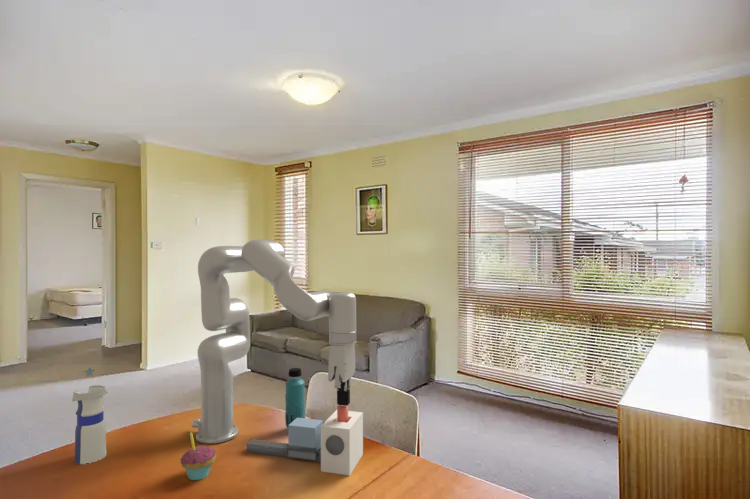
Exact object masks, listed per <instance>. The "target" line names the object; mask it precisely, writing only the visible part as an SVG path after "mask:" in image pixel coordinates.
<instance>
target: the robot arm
mask: <svg viewBox="0 0 750 499" xmlns="http://www.w3.org/2000/svg"><path fill="white" fill-rule="evenodd" d="M285 253H286V252H285V249H284V247H283V246H282V244H280V242H278V241H276V240H272V239H252V240H250V241H248V242H246V243H245V244H244V245H240V246H239V245H219V246H213V247H210V248H208V249H207V250H205V251H204V252H203V253H202V254H201V256H200V258H199V260H198V264H197V275H198V280H199V286H200V305H201V307H200V308H201V311H200V312H201V313H200V314H201V322H202V326H203V328H204V329H205V330H206V331H209V332H210V331H211V332H216V331H217V332H218V331H223V330H225V332H222V333H218V334H214V335H211V336H209V337H207V338H205V339H203V340H202V341H201V342H200V344H199V345H198V347H197V358H198V362H199V363H198V364H199V370H200V392H201V393H200V397H201V398H200V399H201V401H200V402H201V403H200V404H201V407H200V408H201V409H200V412H201V414H200V415H201V416H200V418H194V419H193V422H192V424H191V428H197V429H198V430H197V432H196V434H195V439H196V441H198V442H199V443H201V444H209V445H210V444H211V445H212V444H220V443H224V442H228V441H230V440H232V439H234V438H236V436H238V435H239V427H238V426H237V425H234V376H233V373H232V369H231V368H230V366H229V363H232V362H234V361H237V360H239V359H240V360H241V359H242V358H244V357H245V356H246V355H247V354H248V353H249V351H250V349H251V348H250V347H251V326H250V324H251V322H250V311H249V309H248V308H249V307H248V306H247V304H246V303H245V302H244V301H243V300H242V299H241V298H237V297H233V298H232V297H231V296H230V285H229V282H228V280H227V278H226V277H225V275H224V274H230V273H231V274H232V273H235V274H236V273H247V272H248V273H249V272H255V273H257V274H258V275H259V276H260V277H261V278H263V279H264V280H265V281H267V283H269V285H271V286H272V287H273V292H274V294H275V296H276V299H277V300H278V302H279V304H280V305H282V306H283V307H284V308H285V310H287V311H288V312H289V313H290V314H292V315H293V316H295V317H296V318H297V319H299V320H302V321H306V322H310V321H315V320H317V319H322V318H326V317H328V338H329V339H328V341H329V342H328V343H329V345H330V346H329V350H328V351H329V353H328V367H327V368H328V369H327V370H328V371H327V379H328V380H327V381H329V382H332V381H334V388H335V389H336V404H337V406H338V405H345V406H347V405H348V406H349V404H351V378H352V377H353V375H354V374H355V373H356V349H355V345H356V344H357V342H358V341H357V298H356V295H355V293H353V292H348V291H346V292H345V291H341V292H335V291H330V290H318V291H317V290H316V291H311V292H310V291H309V292H307V291H306V290H305V289H303V288H302V287H301V286H299V285H298V284H297V283H296V282H295V281H294V280H293V276H294V274H295V266H294V264H293V263H291V262H290V261H289V260H288V259H287V258H285ZM230 297H231V298H230Z"/></svg>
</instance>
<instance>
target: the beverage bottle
mask: <svg viewBox="0 0 750 499" xmlns="http://www.w3.org/2000/svg"><path fill="white" fill-rule="evenodd" d="M288 377H290V378H288V379H287V381H285V384H284V385H285V391H284V392H285V396H284V398H285V401H284V402H285V416H284V419H285V427H286V428H287V429H288V425H289V424H290V423H292V422H293V421H294V420H295V419H296V418H306V400H305V399H306V398H305V391H306V390H305V388H306V387H305V386H306V382H305V380H304V379H303V378H301V377H302V369H301V368H300V367H292V368H289V369H288Z"/></svg>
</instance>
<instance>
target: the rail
mask: <svg viewBox="0 0 750 499" xmlns="http://www.w3.org/2000/svg"><path fill="white" fill-rule="evenodd" d="M245 446H246V449H245V450H246V453H252V454H258V455H266V456H270V457H271V456H272V457H279V458H280V457H281V458H286V459H293V460H300V461H301V460H302V461H310V462H316V463H321V448H320V449H319V450H318V451H317V452H316V460H311V459H304V458H296V457H289V456H288V443H285V442H278V441H270V440H263V439H262V440H261V439H255V438H252V439H250V440H249V441H247V442H246V445H245Z"/></svg>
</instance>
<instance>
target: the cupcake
mask: <svg viewBox="0 0 750 499" xmlns="http://www.w3.org/2000/svg"><path fill="white" fill-rule="evenodd" d="M189 436H190V437H189V438H190V443H191V448H189V449H188V450H187V451H184V452H185V453H183V454H182V456H181V458H180V464H181V467H182V468H184V469H185V471H186V474H187V477H188V479H189V480H191V481H199V480H202V479H205V478H207V477H208V475H209V472H210V468H211V466H212V465H213V464H214V463H215V461H216V460H217V453H216V450H215V449H214V448H212V447H211V446H209V445H198V446H197V445H196V444H195V439H194V435H193V432H192V431H191V430H189ZM195 445H196V446H195Z"/></svg>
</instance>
